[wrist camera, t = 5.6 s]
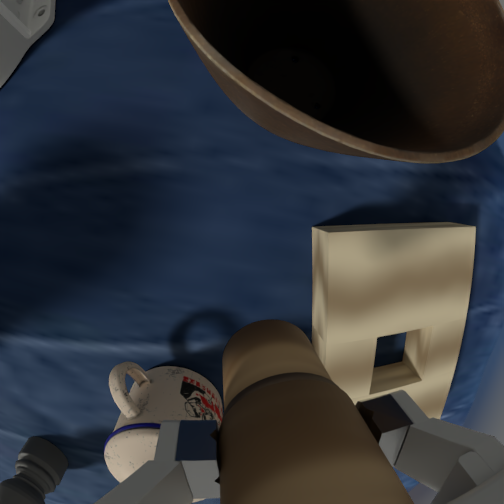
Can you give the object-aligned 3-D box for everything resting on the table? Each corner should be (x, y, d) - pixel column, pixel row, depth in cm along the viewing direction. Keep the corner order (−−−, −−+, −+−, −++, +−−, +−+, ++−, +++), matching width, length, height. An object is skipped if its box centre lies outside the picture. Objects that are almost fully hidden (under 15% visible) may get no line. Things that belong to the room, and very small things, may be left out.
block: (311, 226, 24) (328, 232, 20) (448, 221, 25) (475, 226, 21) (306, 439, 28) (315, 465, 24) (419, 411, 29) (435, 430, 25)
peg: (213, 318, 11) (215, 614, 2) (318, 309, 12) (486, 532, 2) (221, 402, 12) (238, 631, 2) (314, 392, 12) (406, 593, 3)
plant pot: (397, 159, 24) (552, 139, 8) (227, 205, 23) (234, 224, 8) (341, 10, 21) (424, -98, 5) (176, 37, 20) (137, -105, 5)
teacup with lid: (241, 419, 27) (251, 516, 15) (161, 443, 27) (145, 532, 15) (179, 318, 25) (150, 406, 13) (94, 353, 24) (37, 433, 13)
